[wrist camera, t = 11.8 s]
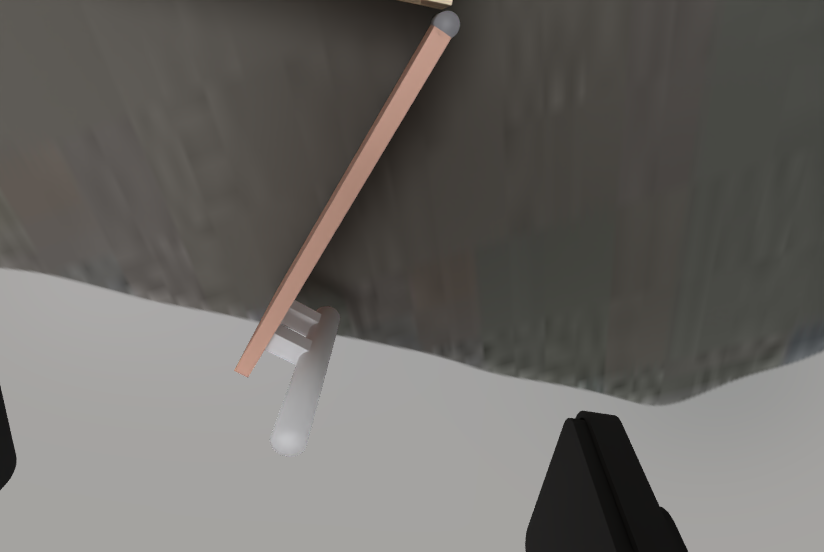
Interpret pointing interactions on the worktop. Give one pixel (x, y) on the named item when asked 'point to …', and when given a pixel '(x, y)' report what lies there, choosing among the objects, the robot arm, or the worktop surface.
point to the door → (283, 307)
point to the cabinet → (431, 3)
